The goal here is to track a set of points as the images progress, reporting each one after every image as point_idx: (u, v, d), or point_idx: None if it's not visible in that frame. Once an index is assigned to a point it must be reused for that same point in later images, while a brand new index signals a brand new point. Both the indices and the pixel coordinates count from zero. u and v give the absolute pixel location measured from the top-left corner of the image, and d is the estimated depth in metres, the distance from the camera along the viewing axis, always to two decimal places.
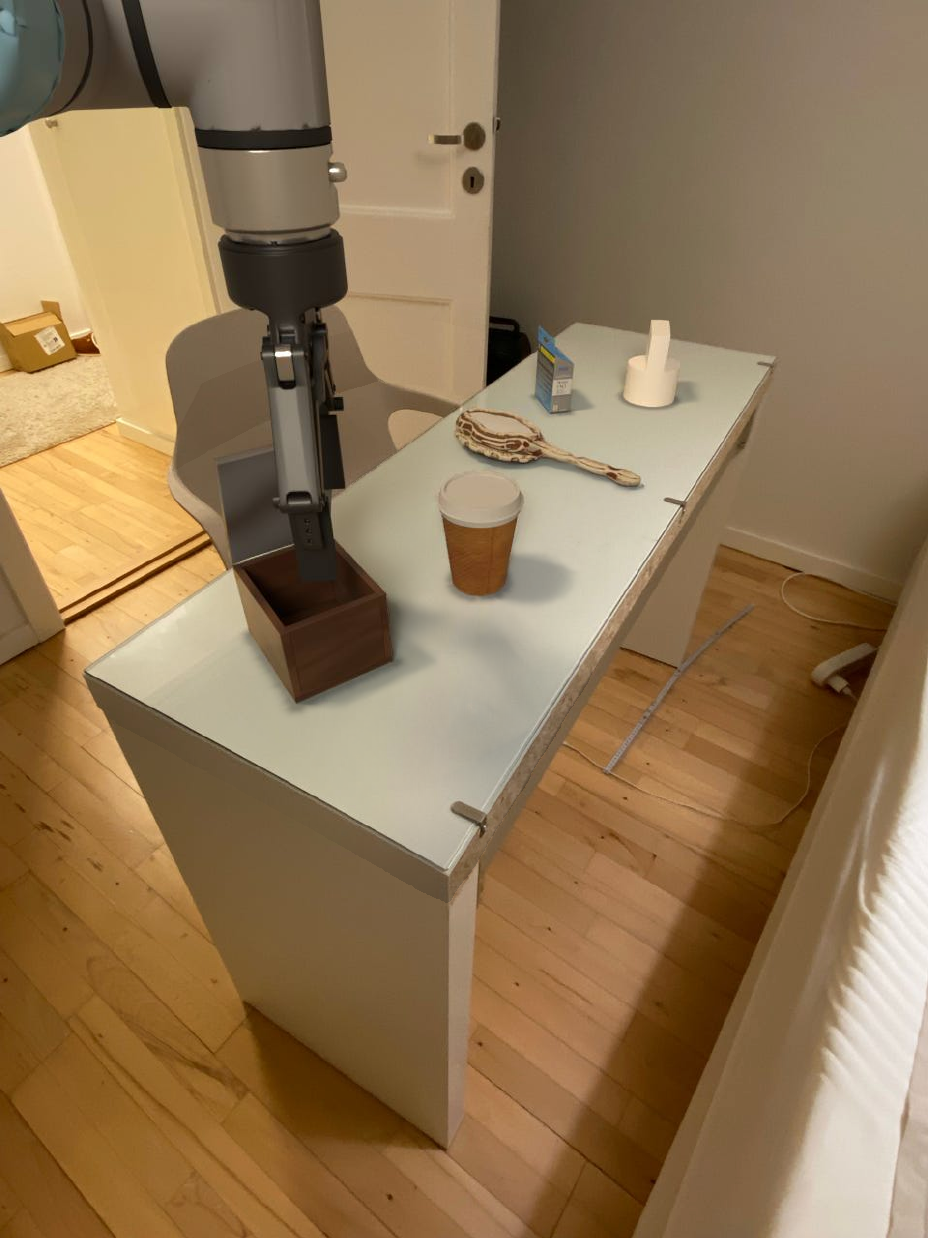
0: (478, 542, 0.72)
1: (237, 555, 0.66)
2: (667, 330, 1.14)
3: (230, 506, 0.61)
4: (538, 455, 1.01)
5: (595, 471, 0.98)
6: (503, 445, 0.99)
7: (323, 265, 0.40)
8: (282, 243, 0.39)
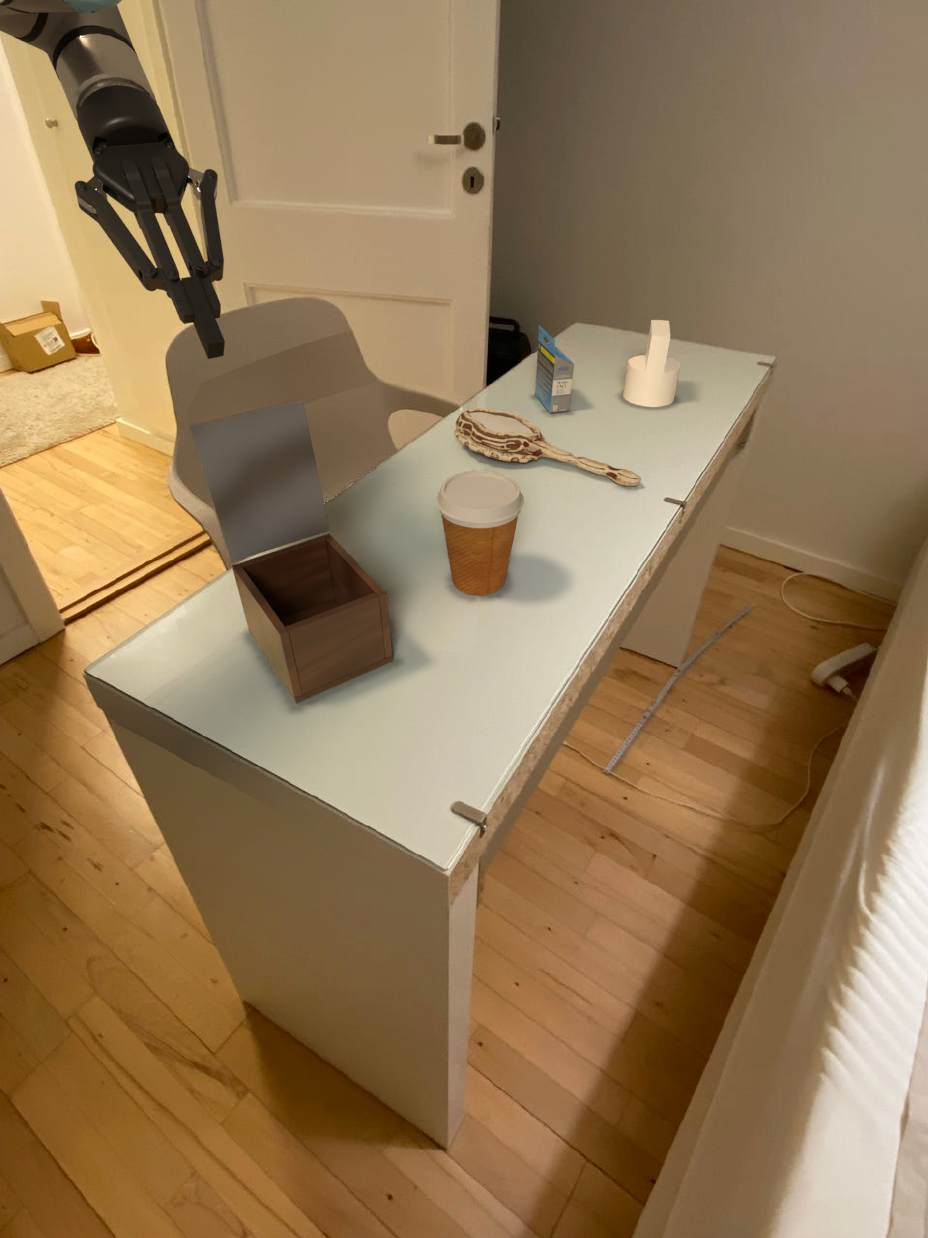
0: (478, 542, 0.72)
1: (235, 550, 0.67)
2: (667, 330, 1.14)
3: (214, 483, 0.63)
4: (538, 455, 1.01)
5: (595, 471, 0.98)
6: (503, 445, 0.99)
7: None
8: None
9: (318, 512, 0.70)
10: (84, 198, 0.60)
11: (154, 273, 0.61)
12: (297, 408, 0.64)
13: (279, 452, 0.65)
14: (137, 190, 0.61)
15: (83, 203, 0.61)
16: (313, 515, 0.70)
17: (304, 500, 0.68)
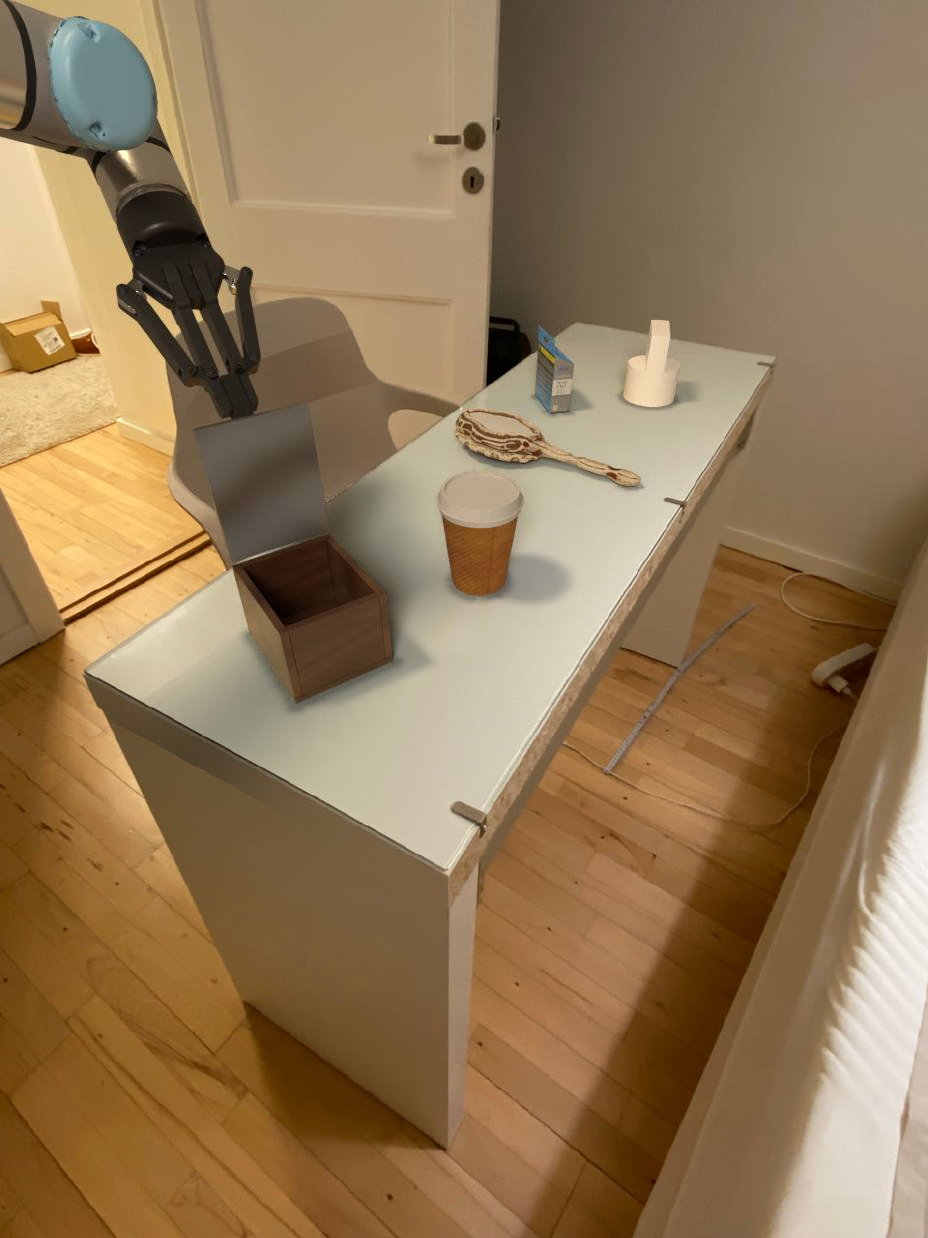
0: (478, 542, 0.72)
1: (235, 551, 0.67)
2: (667, 330, 1.14)
3: (217, 486, 0.62)
4: (538, 455, 1.01)
5: (595, 471, 0.98)
6: (503, 445, 0.99)
7: None
8: None
9: (319, 513, 0.70)
10: (125, 300, 0.61)
11: (194, 372, 0.62)
12: (302, 411, 0.63)
13: (282, 455, 0.64)
14: (177, 291, 0.62)
15: (123, 304, 0.62)
16: (314, 516, 0.70)
17: (305, 502, 0.68)
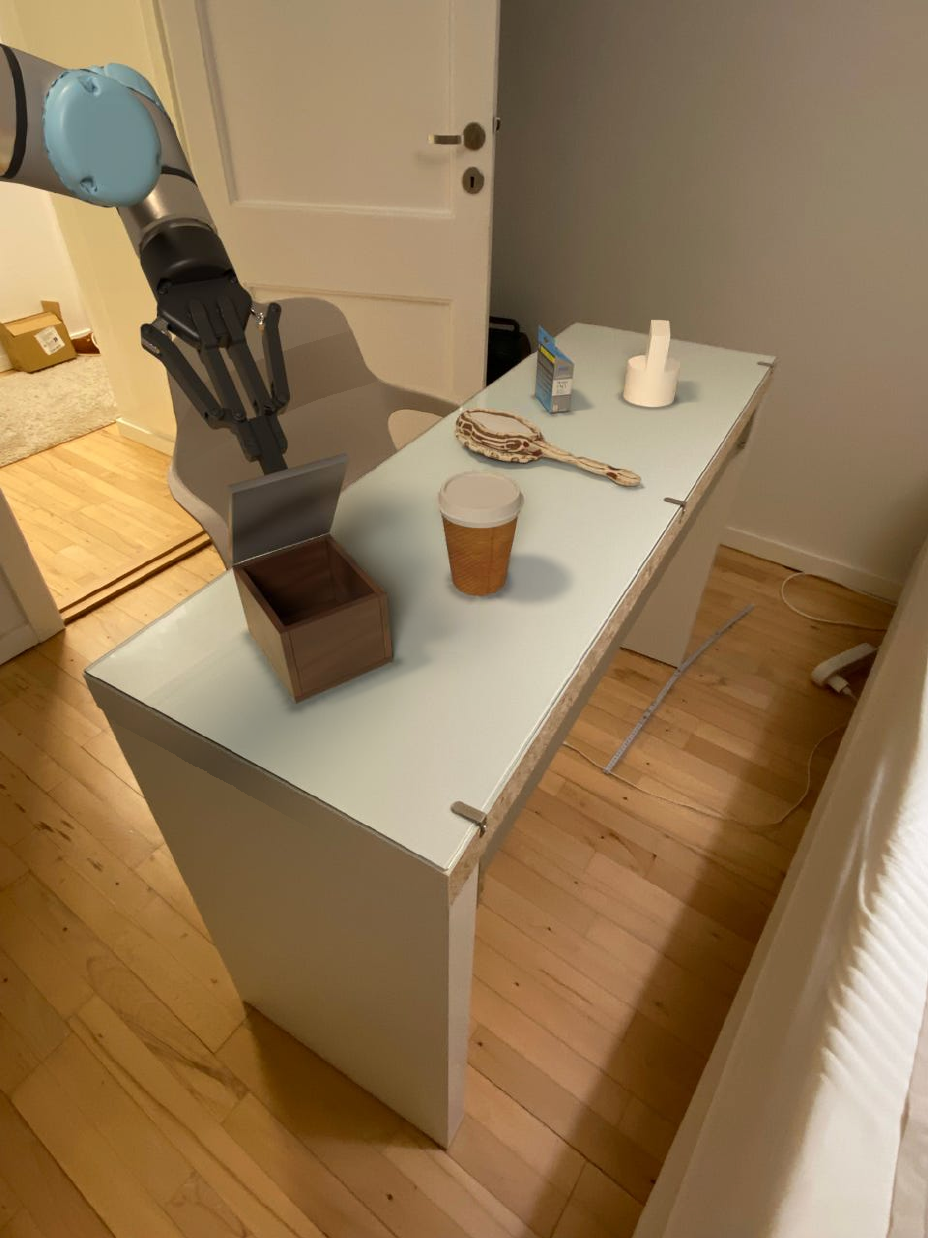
0: (478, 542, 0.72)
1: (238, 557, 0.66)
2: (667, 330, 1.14)
3: (238, 523, 0.60)
4: (538, 455, 1.01)
5: (595, 471, 0.98)
6: (503, 445, 0.99)
7: None
8: None
9: (326, 524, 0.69)
10: (150, 341, 0.58)
11: (222, 415, 0.59)
12: (341, 465, 0.60)
13: (309, 495, 0.62)
14: (203, 330, 0.59)
15: (147, 344, 0.59)
16: (320, 526, 0.69)
17: (316, 519, 0.67)
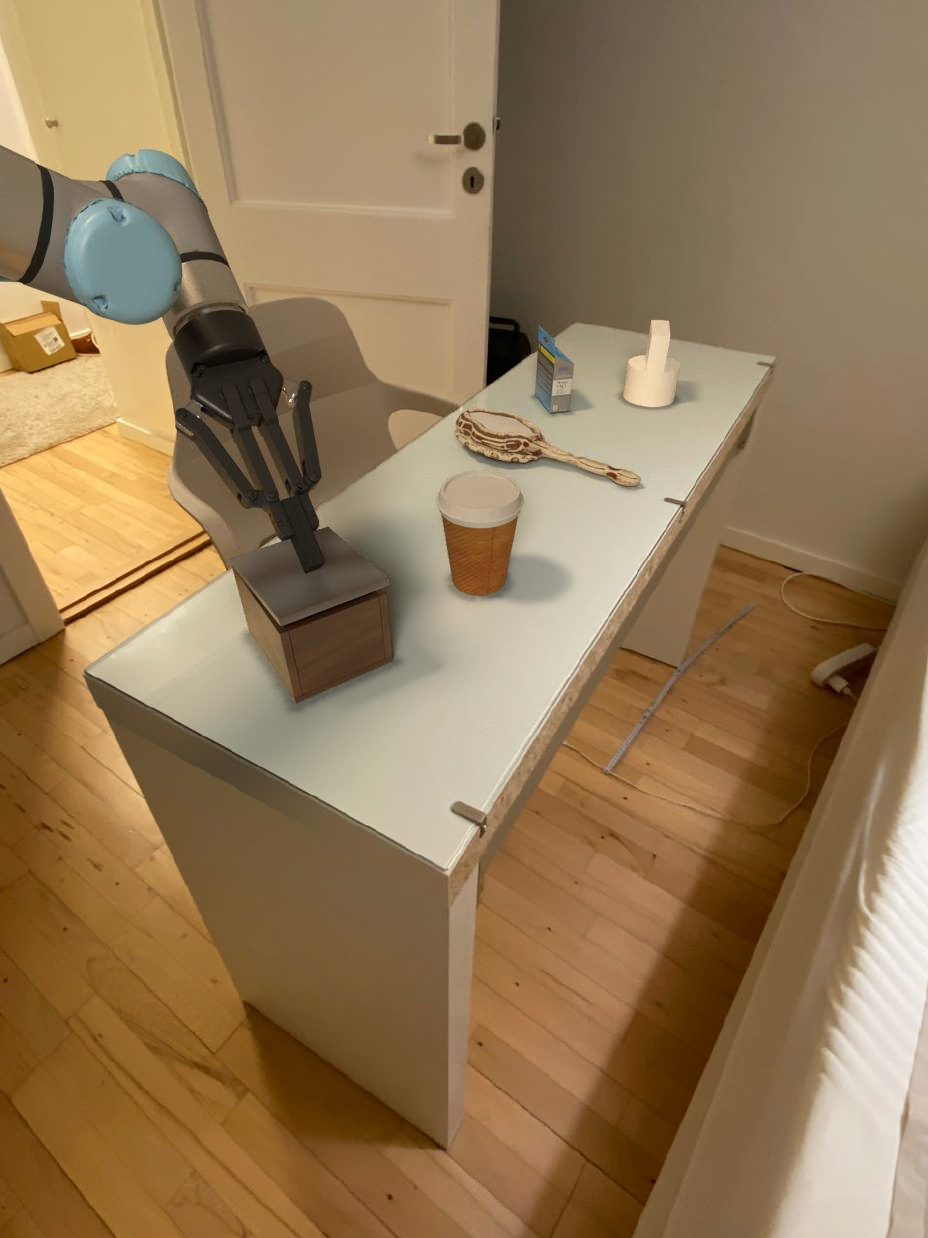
0: (478, 542, 0.72)
1: None
2: (667, 330, 1.14)
3: None
4: (538, 455, 1.01)
5: (595, 471, 0.98)
6: (503, 445, 0.99)
7: None
8: None
9: None
10: (184, 425, 0.59)
11: (255, 497, 0.60)
12: None
13: None
14: (237, 413, 0.60)
15: (182, 428, 0.59)
16: None
17: None
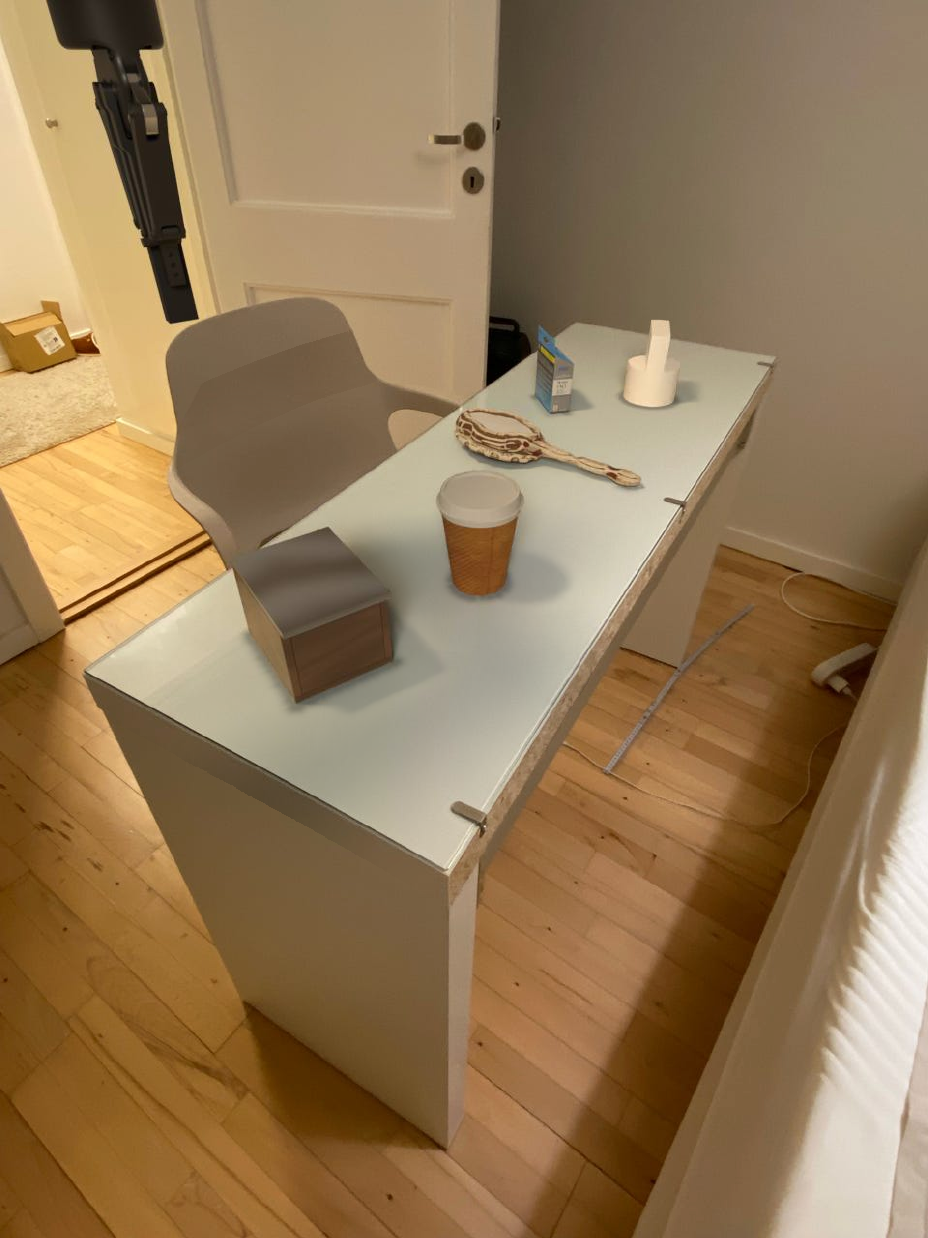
0: (478, 542, 0.72)
1: None
2: (667, 330, 1.14)
3: None
4: (538, 455, 1.01)
5: (595, 471, 0.98)
6: (503, 445, 0.99)
7: (148, 5, 0.50)
8: None
9: None
10: None
11: (138, 228, 0.61)
12: None
13: None
14: (108, 126, 0.55)
15: None
16: None
17: None
